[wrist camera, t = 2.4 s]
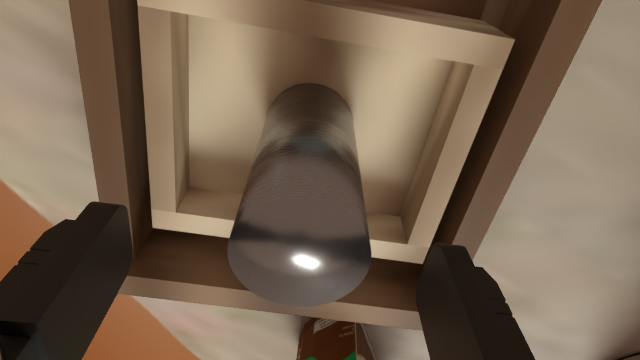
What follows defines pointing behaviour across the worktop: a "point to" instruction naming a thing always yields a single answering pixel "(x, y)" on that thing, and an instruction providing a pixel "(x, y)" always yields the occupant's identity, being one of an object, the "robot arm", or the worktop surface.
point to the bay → (383, 275)
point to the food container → (334, 341)
